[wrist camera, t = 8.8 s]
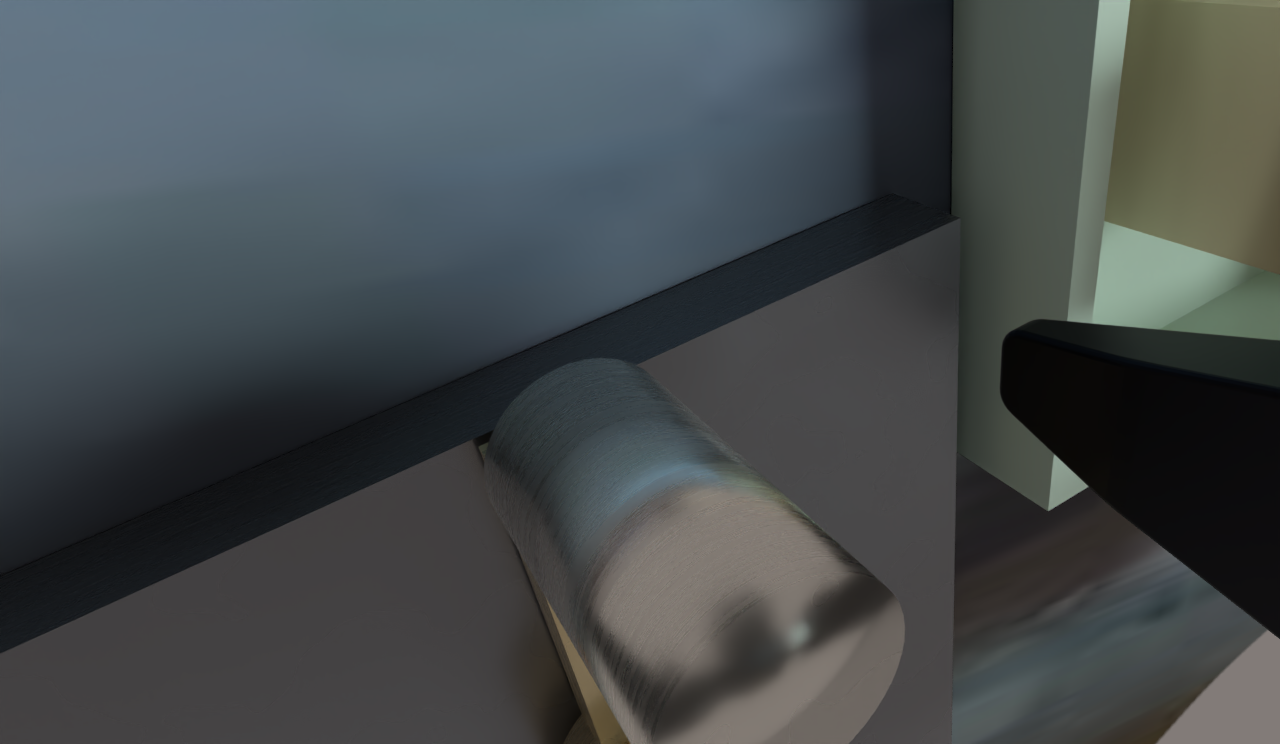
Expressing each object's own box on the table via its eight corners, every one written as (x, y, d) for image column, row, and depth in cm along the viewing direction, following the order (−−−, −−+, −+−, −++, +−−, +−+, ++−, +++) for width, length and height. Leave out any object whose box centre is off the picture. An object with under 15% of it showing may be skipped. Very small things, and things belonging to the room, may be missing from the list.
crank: (753, 741, 16) (950, 1009, 12) (584, 848, 15) (738, 1182, 11) (658, 277, 10) (961, 488, 6) (380, 394, 9) (541, 731, 5)
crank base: (892, 193, 14) (986, 227, 12) (907, 701, 21) (967, 762, 20) (-115, 625, 10) (-168, 761, 8) (349, 1069, 17) (369, 1184, 16)
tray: (1429, -388, 14) (1638, -441, 12) (1268, 268, 21) (1386, 304, 19) (956, -283, 11) (1132, -330, 9) (948, 446, 18) (1047, 511, 16)
